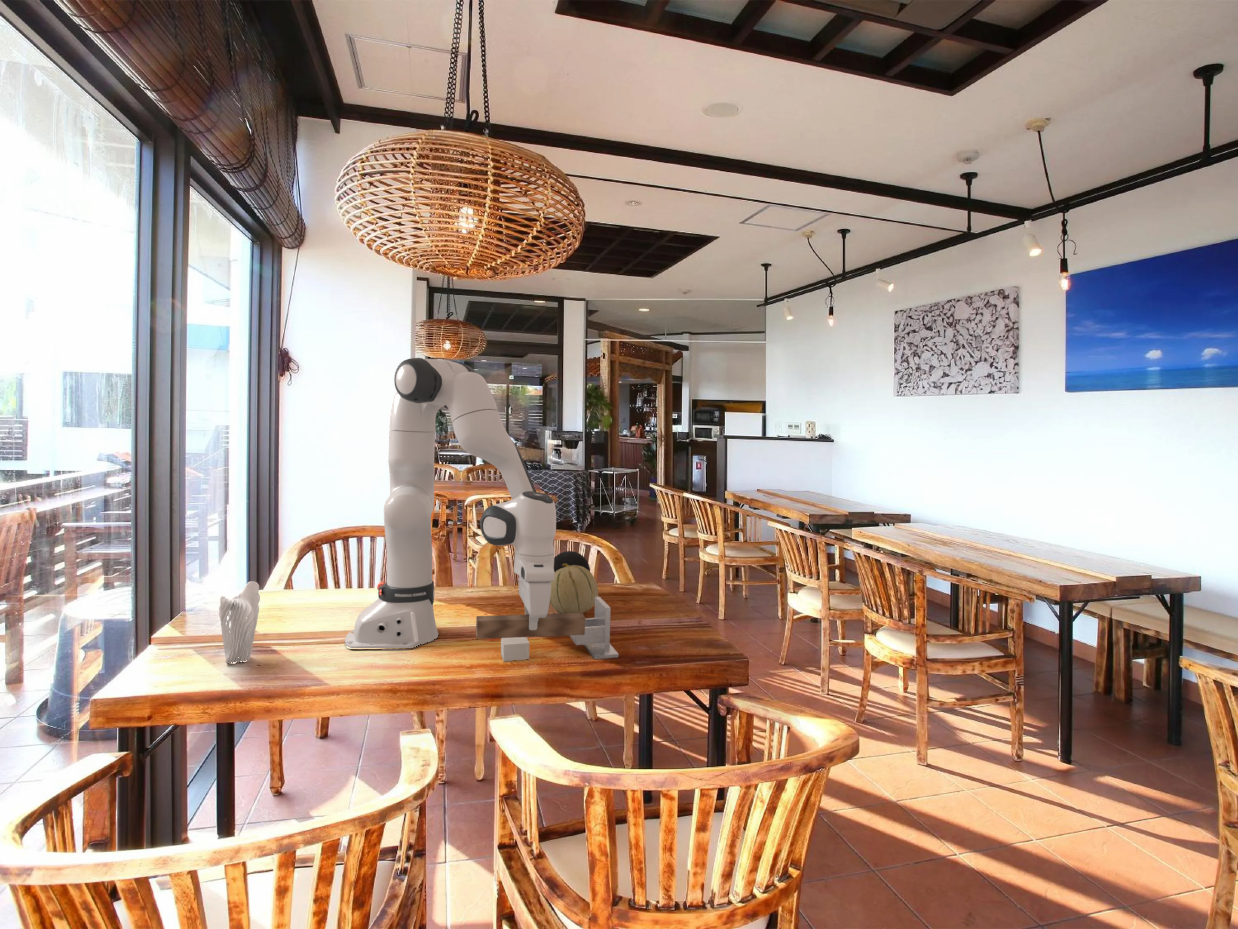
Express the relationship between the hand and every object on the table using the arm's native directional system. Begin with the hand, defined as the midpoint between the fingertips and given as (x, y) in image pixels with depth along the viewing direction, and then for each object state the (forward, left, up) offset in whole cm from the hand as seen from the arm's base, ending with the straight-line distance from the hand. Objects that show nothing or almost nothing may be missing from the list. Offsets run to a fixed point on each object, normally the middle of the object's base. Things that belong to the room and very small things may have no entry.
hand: (530, 625), depth 152 cm
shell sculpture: (-63, +20, -11) cm, 67 cm away
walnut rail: (0, 0, -2) cm, 2 cm away
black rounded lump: (+22, +57, -11) cm, 62 cm away
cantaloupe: (+19, +39, -11) cm, 45 cm away
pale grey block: (-2, +9, -10) cm, 14 cm away
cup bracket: (+17, +9, -10) cm, 22 cm away
